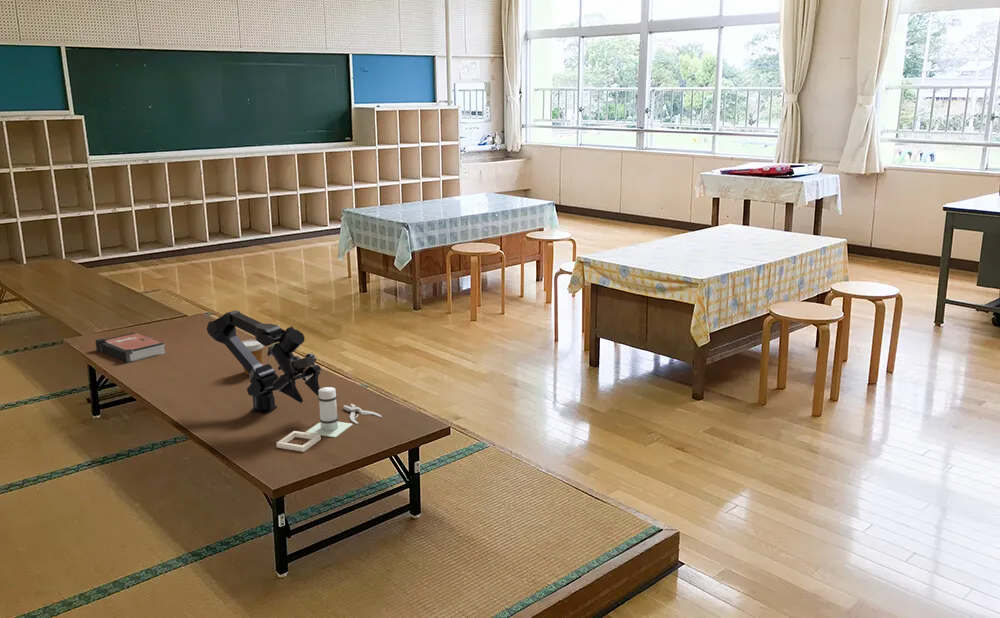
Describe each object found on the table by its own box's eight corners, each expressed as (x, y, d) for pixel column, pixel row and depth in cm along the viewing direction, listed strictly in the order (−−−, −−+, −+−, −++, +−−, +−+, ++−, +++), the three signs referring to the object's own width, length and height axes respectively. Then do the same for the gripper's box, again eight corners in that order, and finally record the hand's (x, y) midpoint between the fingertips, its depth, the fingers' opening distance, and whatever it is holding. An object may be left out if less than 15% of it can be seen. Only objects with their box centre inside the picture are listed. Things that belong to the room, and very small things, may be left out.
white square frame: (276, 447, 248) (276, 442, 248) (294, 435, 257) (294, 430, 257) (303, 451, 245) (303, 447, 245) (320, 439, 254) (320, 435, 253)
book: (167, 354, 339) (166, 342, 338) (127, 364, 326) (125, 352, 324) (136, 342, 355) (135, 331, 354) (96, 351, 342) (95, 340, 341)
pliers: (356, 421, 265) (334, 407, 276) (356, 425, 265) (334, 412, 277) (382, 413, 271) (360, 401, 282) (382, 418, 271) (360, 405, 283)
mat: (305, 433, 259) (305, 432, 259) (323, 420, 269) (323, 419, 269) (335, 437, 255) (335, 436, 255) (353, 424, 265) (353, 423, 265)
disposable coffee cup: (269, 368, 319) (267, 339, 316) (260, 376, 310) (257, 346, 307) (246, 367, 320) (243, 338, 317) (236, 376, 311) (233, 346, 308)
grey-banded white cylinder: (319, 431, 259) (316, 393, 256) (321, 424, 264) (319, 387, 261) (337, 431, 259) (334, 392, 256) (339, 424, 265) (337, 386, 261)
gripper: (281, 351, 255) (308, 392, 252) (318, 341, 271) (343, 379, 269) (261, 370, 259) (286, 410, 257) (298, 359, 276) (322, 397, 274)
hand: (311, 398), depth 264 cm, fingers open, 9 cm apart
